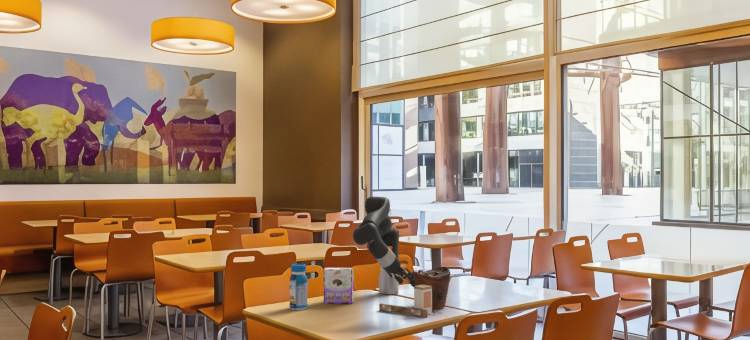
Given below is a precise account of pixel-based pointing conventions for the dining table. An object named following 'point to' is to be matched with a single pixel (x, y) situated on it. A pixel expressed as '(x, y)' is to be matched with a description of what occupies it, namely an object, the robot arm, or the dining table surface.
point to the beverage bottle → (298, 287)
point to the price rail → (403, 310)
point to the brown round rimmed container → (435, 284)
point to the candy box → (338, 285)
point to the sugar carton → (423, 297)
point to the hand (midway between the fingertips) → (408, 283)
